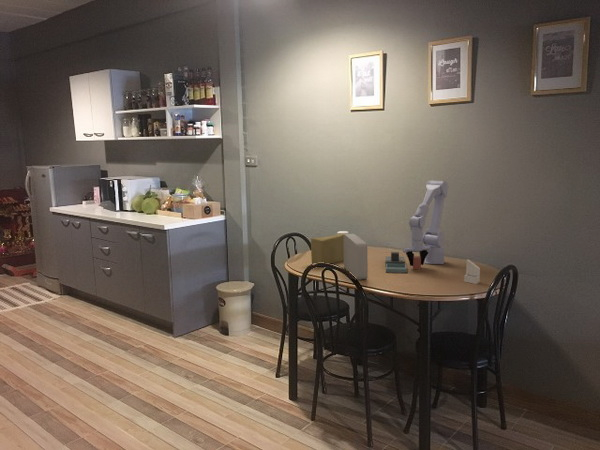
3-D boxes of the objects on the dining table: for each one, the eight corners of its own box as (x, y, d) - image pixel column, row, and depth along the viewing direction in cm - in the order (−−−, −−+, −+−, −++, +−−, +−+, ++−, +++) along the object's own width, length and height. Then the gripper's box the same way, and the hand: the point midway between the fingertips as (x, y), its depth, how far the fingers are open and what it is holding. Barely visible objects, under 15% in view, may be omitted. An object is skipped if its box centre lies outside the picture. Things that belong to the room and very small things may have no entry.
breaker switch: (398, 259, 268) (398, 252, 267) (398, 260, 265) (398, 253, 264) (391, 259, 268) (391, 251, 268) (391, 260, 266) (391, 253, 265)
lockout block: (420, 267, 263) (420, 256, 262) (420, 269, 259) (420, 257, 258) (412, 267, 264) (412, 256, 263) (412, 269, 260) (412, 257, 259)
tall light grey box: (372, 280, 242) (372, 243, 239) (356, 281, 241) (356, 244, 238) (357, 265, 270) (357, 232, 267) (343, 266, 269) (343, 233, 266)
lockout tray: (405, 267, 263) (405, 263, 263) (406, 272, 253) (406, 268, 253) (386, 267, 265) (386, 263, 264) (385, 272, 255) (385, 268, 254)
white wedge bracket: (459, 273, 241) (468, 259, 237) (476, 286, 236) (485, 272, 231) (455, 274, 238) (464, 260, 234) (472, 288, 233) (482, 274, 229)
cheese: (341, 257, 288) (341, 232, 286) (352, 260, 281) (352, 234, 278) (310, 264, 276) (310, 237, 273) (321, 267, 268) (321, 239, 265)
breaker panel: (404, 262, 275) (404, 255, 274) (404, 267, 264) (404, 260, 263) (385, 261, 276) (385, 255, 276) (385, 266, 266) (385, 260, 265)
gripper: (425, 237, 264) (425, 262, 267) (400, 239, 261) (400, 264, 263) (432, 239, 258) (432, 265, 260) (406, 241, 254) (406, 267, 256)
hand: (416, 265), depth 261 cm, fingers closed on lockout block, 5 cm apart
